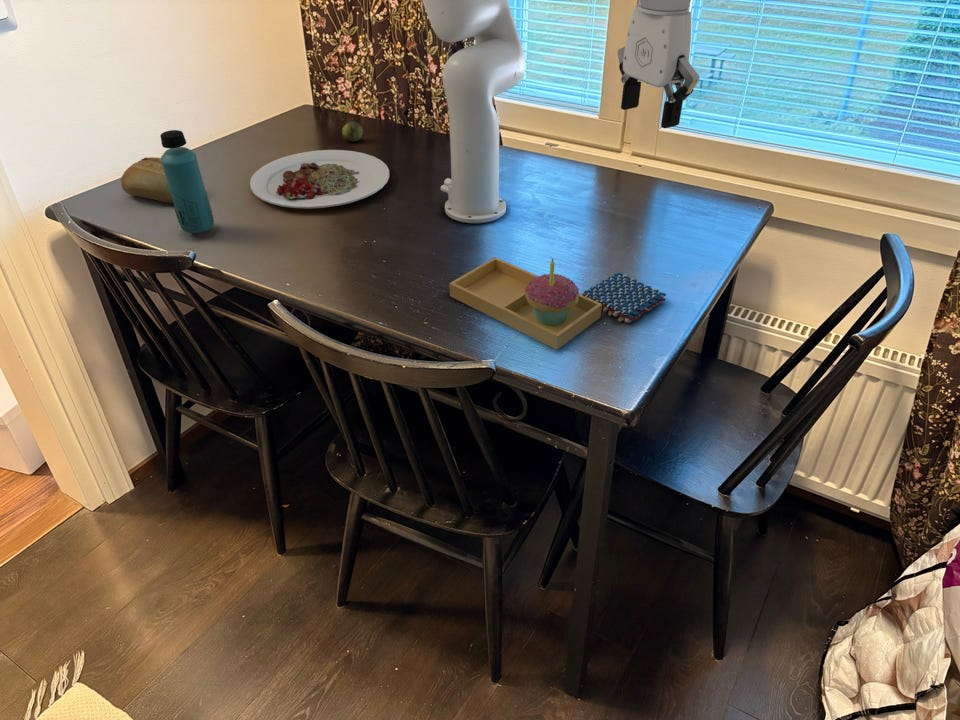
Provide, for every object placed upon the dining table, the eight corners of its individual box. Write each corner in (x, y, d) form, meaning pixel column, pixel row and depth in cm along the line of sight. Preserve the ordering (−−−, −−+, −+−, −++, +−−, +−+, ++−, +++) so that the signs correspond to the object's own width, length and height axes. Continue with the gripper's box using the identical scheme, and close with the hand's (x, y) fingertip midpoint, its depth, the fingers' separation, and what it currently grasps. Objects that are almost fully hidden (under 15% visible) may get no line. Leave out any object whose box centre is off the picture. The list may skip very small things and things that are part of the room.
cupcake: (573, 335, 112) (579, 268, 104) (520, 329, 113) (522, 263, 106) (578, 305, 118) (585, 240, 111) (528, 300, 120) (530, 235, 112)
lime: (340, 142, 177) (338, 122, 174) (355, 136, 180) (353, 117, 177) (352, 146, 175) (350, 126, 171) (367, 141, 177) (365, 121, 174)
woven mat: (616, 278, 126) (618, 268, 124) (667, 302, 119) (669, 292, 118) (577, 301, 120) (578, 290, 119) (628, 327, 114) (630, 317, 113)
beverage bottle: (223, 227, 142) (198, 128, 129) (203, 243, 137) (174, 141, 124) (195, 222, 143) (168, 124, 131) (174, 238, 138) (144, 136, 126)
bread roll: (143, 184, 158) (131, 149, 153) (203, 191, 155) (193, 155, 150) (115, 202, 151) (102, 166, 146) (177, 210, 148) (166, 173, 143)
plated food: (405, 161, 167) (404, 147, 165) (367, 220, 144) (365, 204, 142) (283, 153, 171) (281, 140, 169) (227, 209, 148) (223, 194, 146)
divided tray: (449, 296, 121) (449, 283, 120) (495, 269, 128) (495, 256, 127) (556, 350, 109) (558, 336, 108) (600, 317, 116) (602, 304, 115)
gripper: (607, -9, 108) (597, 105, 118) (687, 13, 96) (667, 138, 106) (646, -15, 111) (632, 98, 121) (728, 7, 99) (705, 129, 109)
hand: (649, 117), depth 114 cm, fingers open, 9 cm apart
